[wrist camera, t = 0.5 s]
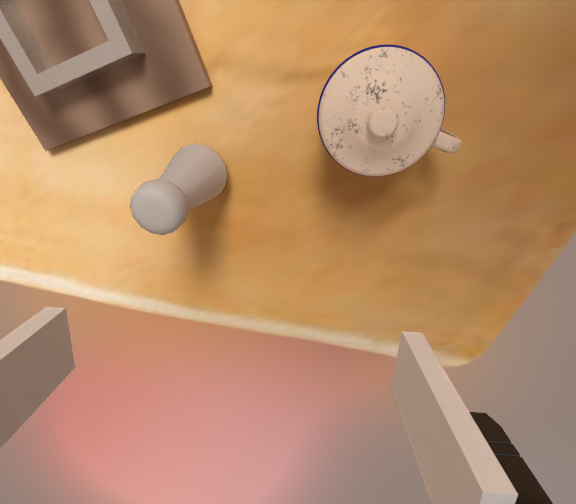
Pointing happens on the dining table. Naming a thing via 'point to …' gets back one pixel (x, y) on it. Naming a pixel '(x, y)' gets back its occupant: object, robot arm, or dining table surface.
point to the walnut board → (113, 82)
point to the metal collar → (50, 79)
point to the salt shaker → (179, 189)
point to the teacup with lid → (383, 111)
